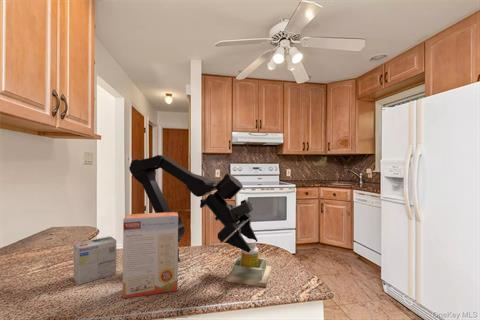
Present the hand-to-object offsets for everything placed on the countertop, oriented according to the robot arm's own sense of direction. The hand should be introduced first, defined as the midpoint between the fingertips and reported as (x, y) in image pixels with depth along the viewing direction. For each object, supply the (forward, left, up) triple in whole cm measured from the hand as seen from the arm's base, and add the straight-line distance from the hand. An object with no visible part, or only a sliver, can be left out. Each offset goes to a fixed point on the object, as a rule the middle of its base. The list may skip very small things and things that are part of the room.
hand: (253, 246), depth 77 cm
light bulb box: (-47, -14, -9) cm, 50 cm away
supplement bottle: (-1, 0, -8) cm, 8 cm away
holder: (-1, 0, -9) cm, 9 cm away
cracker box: (-25, -16, -9) cm, 32 cm away
